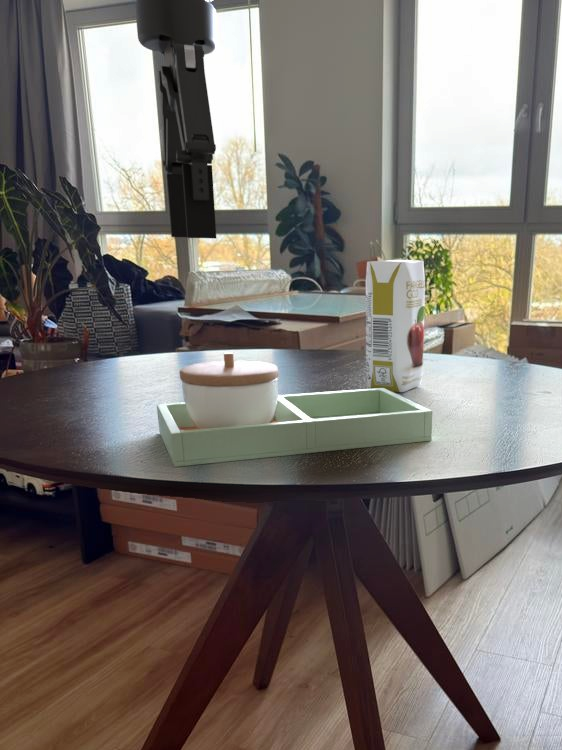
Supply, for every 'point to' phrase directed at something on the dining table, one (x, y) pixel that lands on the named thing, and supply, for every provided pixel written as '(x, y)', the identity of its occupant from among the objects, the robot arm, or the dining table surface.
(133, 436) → the dining table surface
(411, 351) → the juice carton
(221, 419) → the trinket box
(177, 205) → the robot arm
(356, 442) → the divided tray
